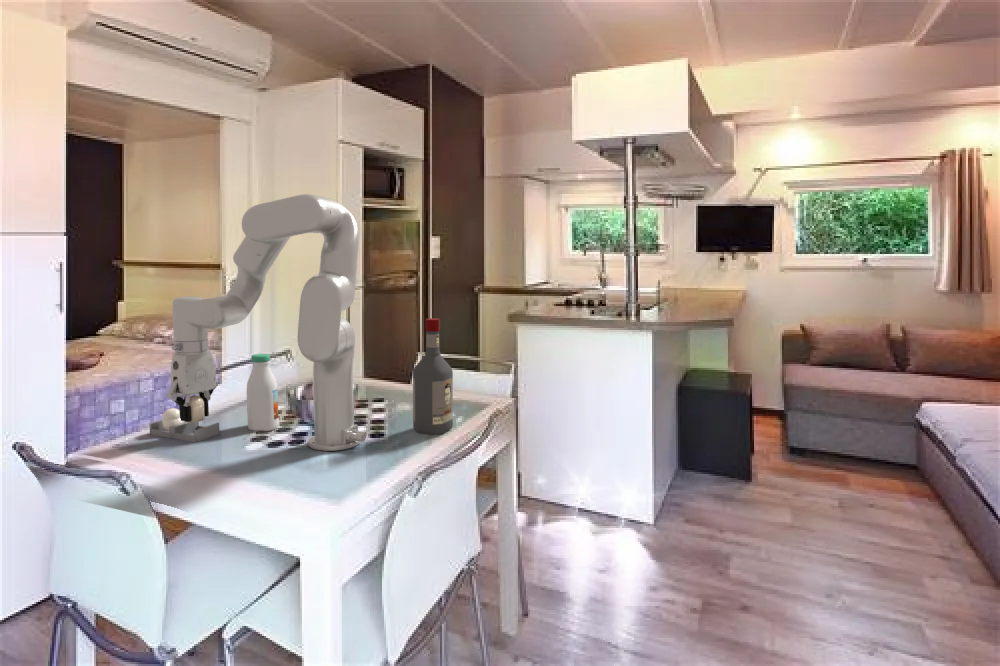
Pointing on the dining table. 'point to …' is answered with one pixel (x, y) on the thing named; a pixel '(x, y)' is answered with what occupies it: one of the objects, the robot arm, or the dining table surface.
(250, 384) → the milk bottle
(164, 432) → the egg carton
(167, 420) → the cream egg
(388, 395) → the dining table surface
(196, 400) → the tan egg
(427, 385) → the liquor
